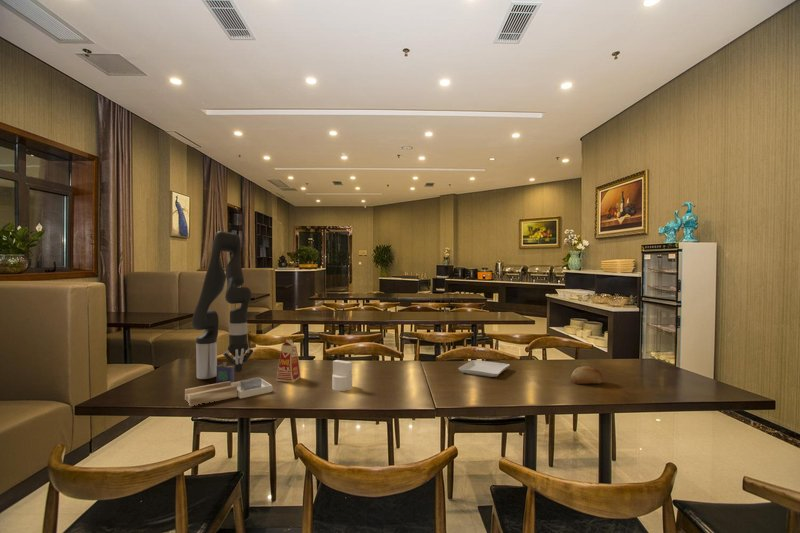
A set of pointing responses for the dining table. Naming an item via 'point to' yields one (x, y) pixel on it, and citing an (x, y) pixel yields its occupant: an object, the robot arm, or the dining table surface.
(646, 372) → the dining table surface
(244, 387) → the grey cube
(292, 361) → the milk carton
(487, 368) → the salad plate
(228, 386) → the channel
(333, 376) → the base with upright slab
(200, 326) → the robot arm
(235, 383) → the tray
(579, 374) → the bread roll
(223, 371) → the flask
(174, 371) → the dining table surface
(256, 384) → the blue-grey cube
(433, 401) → the dining table surface
